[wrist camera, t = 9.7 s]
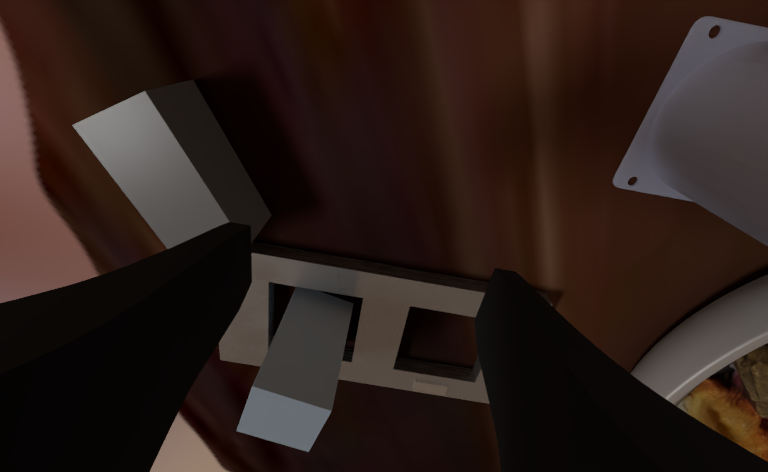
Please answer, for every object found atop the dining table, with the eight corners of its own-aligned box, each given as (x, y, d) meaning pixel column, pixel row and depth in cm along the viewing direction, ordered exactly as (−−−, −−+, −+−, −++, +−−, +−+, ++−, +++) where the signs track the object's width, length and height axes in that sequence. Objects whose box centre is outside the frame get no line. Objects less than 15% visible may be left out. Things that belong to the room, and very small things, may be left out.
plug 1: (133, 107, 19) (72, 125, 16) (195, 79, 18) (144, 91, 15) (217, 232, 23) (183, 269, 19) (272, 213, 22) (247, 249, 18)
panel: (546, 292, 23) (554, 306, 22) (496, 391, 28) (500, 407, 27) (219, 235, 22) (208, 247, 21) (227, 347, 27) (219, 362, 26)
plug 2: (353, 303, 25) (331, 410, 18) (334, 341, 27) (308, 451, 20) (297, 283, 24) (252, 386, 17) (282, 323, 26) (236, 430, 19)
